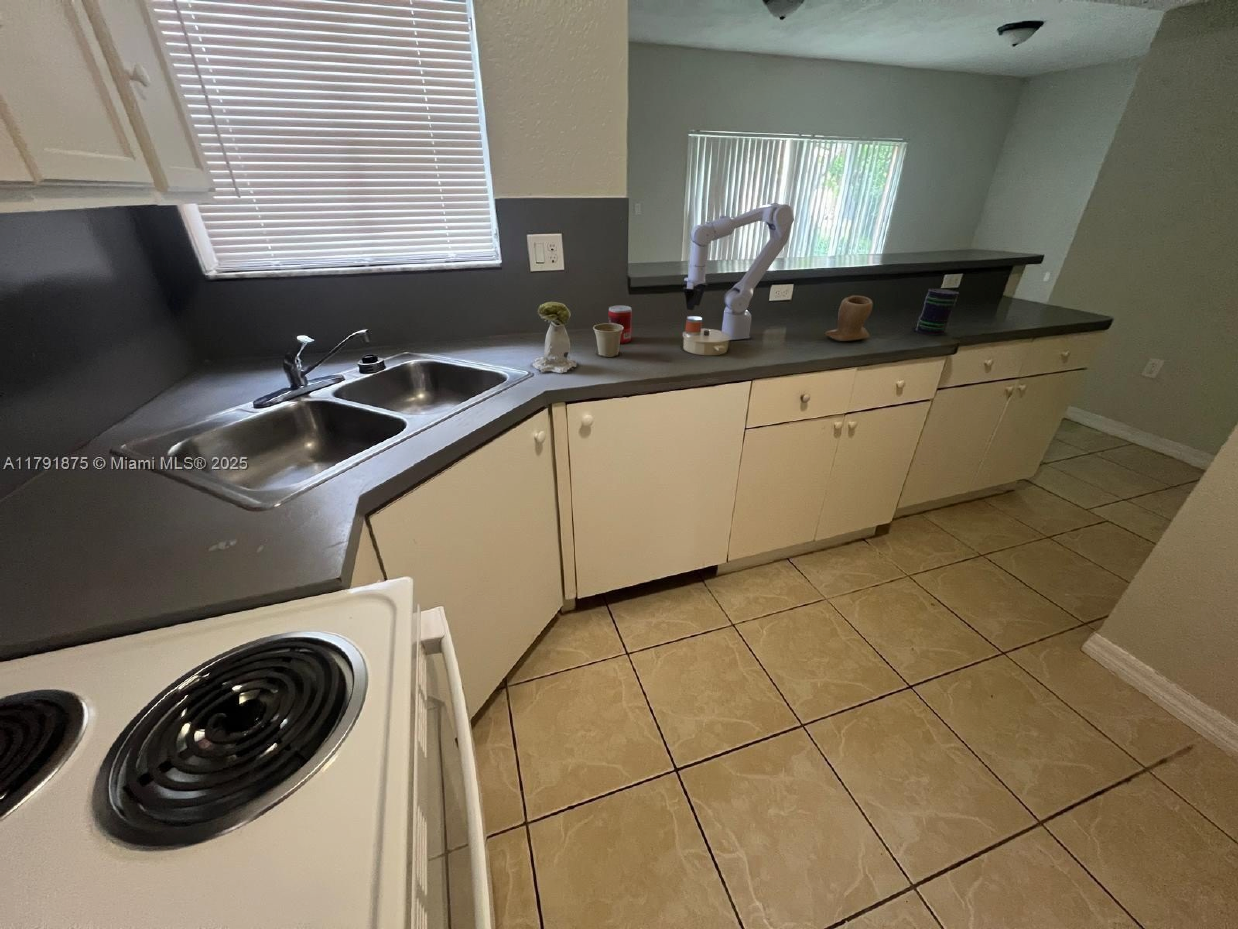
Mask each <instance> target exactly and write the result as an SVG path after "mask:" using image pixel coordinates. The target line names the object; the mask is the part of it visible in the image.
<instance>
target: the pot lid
mask: <svg viewBox="0 0 1238 929" xmlns="http://www.w3.org/2000/svg"><path fill="white" fill-rule="evenodd" d="M683 337H684V338H685V339H687V340H690V341H693V342H699V343H709V344H714V343H723V342H727V341H729V342H730V341H731V340H730V335H729V334H727V333H725V332H722V330H719V329H714V328H713V329H711V328H701V334H700V335H688V334H686V330H684V331H683V332H682V338H683Z"/></svg>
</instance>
